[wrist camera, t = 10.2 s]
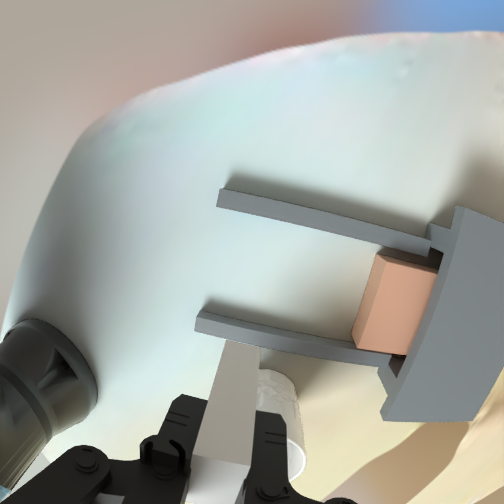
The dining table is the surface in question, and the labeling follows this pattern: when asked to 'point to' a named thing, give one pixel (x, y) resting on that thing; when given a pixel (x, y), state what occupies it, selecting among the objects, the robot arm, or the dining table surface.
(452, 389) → the overhang dock
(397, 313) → the salmon pink tile
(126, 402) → the dining table surface
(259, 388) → the white cup
